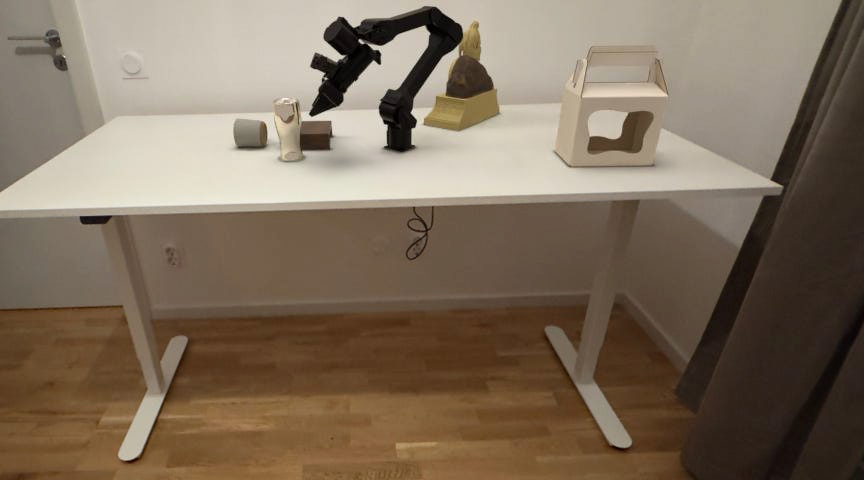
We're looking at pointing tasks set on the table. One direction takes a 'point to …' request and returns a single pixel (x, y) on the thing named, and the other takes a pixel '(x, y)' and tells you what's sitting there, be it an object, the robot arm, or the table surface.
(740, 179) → the table surface
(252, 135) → the ceramic mug
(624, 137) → the gable box
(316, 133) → the desk shelf
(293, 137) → the beer glass
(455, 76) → the tan and brown statue
